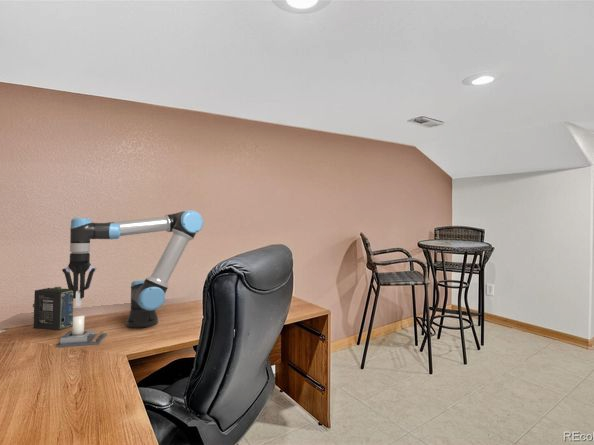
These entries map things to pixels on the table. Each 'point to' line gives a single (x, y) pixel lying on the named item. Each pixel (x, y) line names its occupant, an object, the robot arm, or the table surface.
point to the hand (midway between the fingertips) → (78, 305)
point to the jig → (81, 339)
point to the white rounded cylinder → (78, 325)
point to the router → (53, 308)
